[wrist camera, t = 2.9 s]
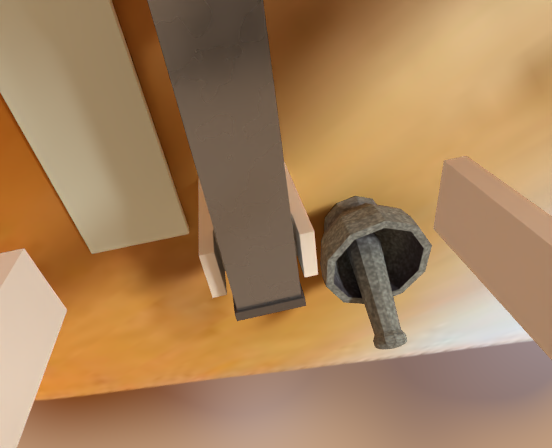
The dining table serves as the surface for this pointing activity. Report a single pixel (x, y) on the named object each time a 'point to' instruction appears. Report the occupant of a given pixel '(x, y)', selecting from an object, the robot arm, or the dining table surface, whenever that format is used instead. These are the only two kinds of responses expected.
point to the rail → (234, 142)
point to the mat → (88, 120)
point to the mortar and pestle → (373, 261)
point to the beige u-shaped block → (212, 254)
